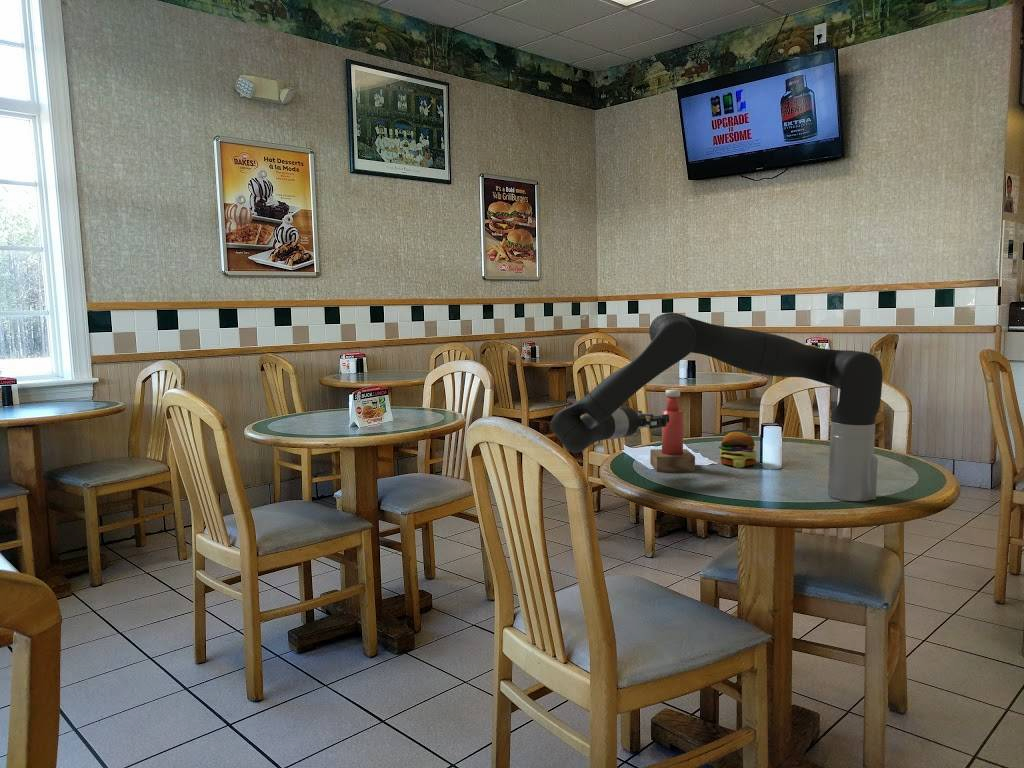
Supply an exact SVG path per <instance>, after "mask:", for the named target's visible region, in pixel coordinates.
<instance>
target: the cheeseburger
mask: <svg viewBox="0 0 1024 768" xmlns="http://www.w3.org/2000/svg"><path fill="white" fill-rule="evenodd" d="M755 445H756V444H755V441H754V438H753V437H752V436H751V435H749V434H747V433H745V432H740V431H730V432H728V433H727V434H726V435H725V436H724V437H723V439H722V441H721V443H720V446H718V449H719V451H718V453H719V454H720V456H719V458H720V463H721V464H723V465H728V466H733V468H736V469H741V468H744V467H747V466H753V465H755V464H756V462H757V460H756V458H757V455H756V454H757V451H756V450H755Z"/></svg>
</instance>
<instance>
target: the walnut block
mask: <svg viewBox="0 0 1024 768" xmlns="http://www.w3.org/2000/svg"><path fill="white" fill-rule="evenodd" d="M649 451H650V456H649V457H650V459H649V461H650V464H649V465H651V467H653V469H654V470H655V472H660V473H661V472H663V473H664V472H667V473H668V472H669V473H670V472H672V473H674V472H677V473H678V472H696V456H695V454H693V453H691V452H690V451H689V450H688V449H686V448H683V454H681V455H667V454H663V453H662V448H661V449H658V448H657V449H655V448H654V449H650V450H649Z"/></svg>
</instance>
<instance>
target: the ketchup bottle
mask: <svg viewBox="0 0 1024 768" xmlns="http://www.w3.org/2000/svg"><path fill="white" fill-rule="evenodd" d="M665 397H666V409H662V410H661V415H664V414H669V422H668V423H666V426H665V427H661V449H662V453H663V454H667V455H681V454H683V449H684V410H682V409H680V397H681V390H680V389H666V390H665Z"/></svg>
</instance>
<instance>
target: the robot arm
mask: <svg viewBox="0 0 1024 768" xmlns="http://www.w3.org/2000/svg"><path fill="white" fill-rule="evenodd" d="M648 333H649V337H650V341H651V342H649V344H648V345H647V346H646V348H645V349H644V350H643V351H642V352H641V353H640V354H639V355H637V357H636V358H635V359H633V360H632V361H631V362H629V363H627V364H626V365H624V366H622V367H621V368H619V369H618V370H617V369H616V371H614V372H612V373H611V374H610V375H608V376H606V378H604V379H603V380H602V381H601V382H600V383H599V384H597V385H596V386H595V387H594V388H593V389H592V390H590V392H589V393H588V394H586V395H585V396H584V397H582V398H581V399H580V400H579V399H578V400H577V401H576V402H574V403H572V404H571V405H568V406H567V407H564V408H562V409H561V410H559V411H557V412H556V413H555V414H554V415H553V417H552V418H551V421H550V428H551V431H552V432H553V433H554V434H555V436H556V437H557V439H558V440H559V441H560V442H561V443H562V445H563V447H564V448H565V449H566V450H567V451H568V452H571V453H573V454H578V453H581V452H583V451H585V450H586V449H587V448H588V447H590V446H591V445H593V444H595V443H597V442H600V441H604V440H615V439H620V438H625V437H630V436H633V435H634V434H635V433H636V432H637V430H639V429H643V428H649V429H658V428H662V427H665V426H666V423H668V422H669V414H664V415H662V414H658V415H656V414H655V415H654V414H653V413H648V412H647V413H643V411H642V410H636V411H635V410H634V409H633V408H631V407H629V406H622V405H624V404H625V402H627V401H628V400H629V399H630V398H632V396H634V395H635V394H636V393H637V392H638V391H640V390H641V389H642V388H643V387H645V386H646V385H647V384H648V383H650V382H651V381H653V379H655V378H657V377H658V376H659V375H660V374H663V372H665V371H667V370H668V369H669V368H671V367H673V366H674V365H676V364H677V363H679V362H680V361H682V360H683V359H684V358H686V357H687V356H689V355H690V354H691V353H692V354H697V355H698V354H699V355H704V356H706V357H710V358H713V359H715V360H717V361H719V362H721V363H725V364H727V365H728V366H732V367H734V368H737V369H740V370H742V371H746V372H750V373H756V374H760V375H765V376H771V377H772V376H773V377H780V378H781V377H783V378H801V379H806V380H810V381H811V380H812V381H814V382H815V381H816V382H818V383H822V384H825V385H829V386H830V387H831V386H832V387H834V388H836V389H839V399H838V403H837V405H836V406H834V407H833V408H832V409H831V411H830V429H829V430H830V432H829V433H830V434H829V436H830V437H829V453H828V454H829V455H828V456H829V457H828V460H829V461H828V483H827V495H828V496H829V497H831V498H833V499H837V500H842V501H847V502H867V501H871V500H876V499H877V484H878V483H877V481H878V480H877V479H878V465H879V464H878V461H879V460H878V457H877V456H875V440H876V439H875V436H876V435H875V434H876V422H877V421H876V419H877V418H876V417H877V416H878V413H879V411H880V408H881V401H882V400H881V399H882V390H883V389H882V388H883V377H884V375H883V368H882V364H881V362H880V360H879V359H878V358H877V357H876V356H875V355H873V354H871V353H869V352H867V351H865V352H864V351H858V350H847V349H845V350H841V349H831V348H830V349H829V348H819V347H813V346H811V345H806V344H804V343H801V342H799V341H797V340H795V339H791V338H790V337H786V336H782V335H778V334H774V333H769V332H764V331H759V330H752V329H747V328H740V327H733V326H725V325H720V324H719V325H718V324H713V323H709V322H706V321H703V320H702V321H701V320H700V319H695V318H692V317H689V316H687V315H683V314H681V313H676V312H665V313H663V314H660V315H658V316H656V317H655V318H654V319H653V320H652V322H651V323H650V326H649V330H648ZM581 416H582V418H581ZM647 417H649V418H647Z"/></svg>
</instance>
